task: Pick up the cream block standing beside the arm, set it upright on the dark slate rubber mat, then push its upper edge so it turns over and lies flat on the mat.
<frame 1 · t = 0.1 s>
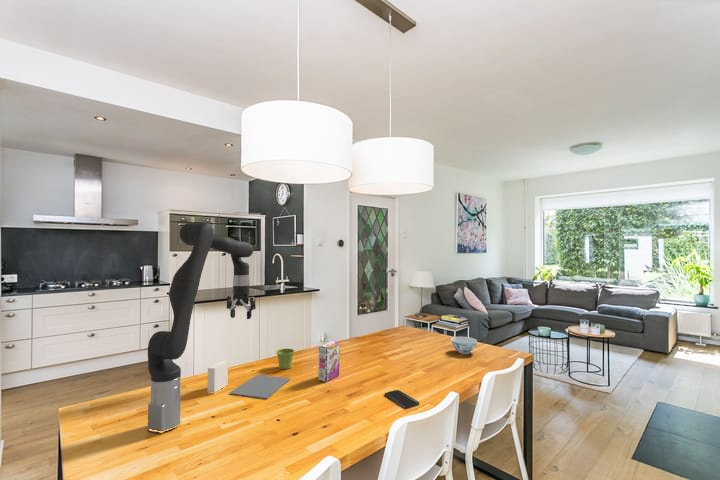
hand: (240, 318, 166), 29 cm above the table, fingers open, 8 cm apart
plant pot: (285, 368, 182), on the table
candy bar box: (329, 378, 168), on the table
cream block: (217, 389, 154), on the table
chinaware: (463, 352, 209), on the table
slate mat: (261, 386, 157), on the table
phone: (401, 401, 145), on the table
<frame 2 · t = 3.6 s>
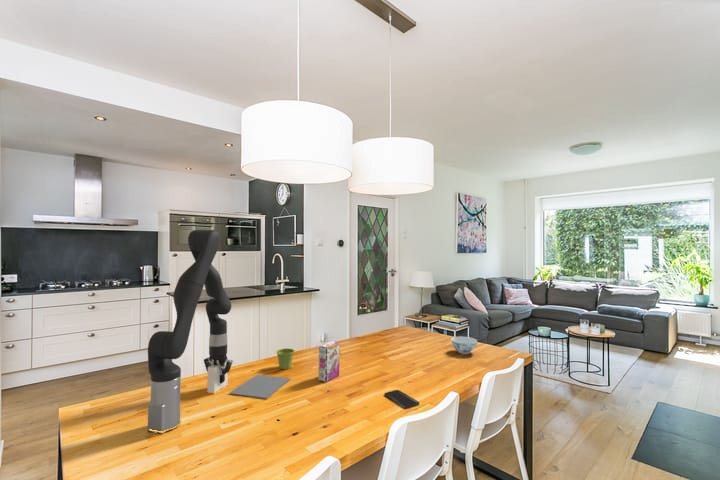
hand: (217, 382, 154), 3 cm above the table, fingers closed on cream block, 3 cm apart
cream block: (217, 389, 154), on the table, touching gripper
everything else where it was.
when the fingers open (5 cm above the table, at t = 10.8 s): cream block drops 1 cm, resting on slate mat.
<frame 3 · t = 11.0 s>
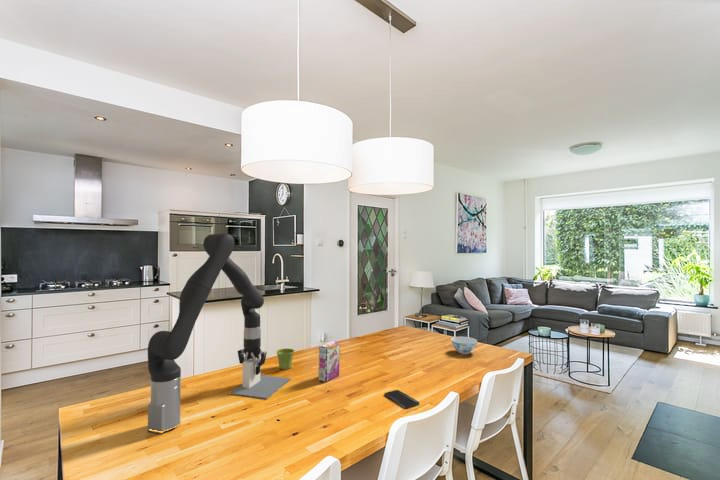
hand: (251, 373, 159), 5 cm above the table, fingers open, 5 cm apart
cream block: (251, 383, 159), point 1 cm above the table, touching slate mat
everything else where it was.
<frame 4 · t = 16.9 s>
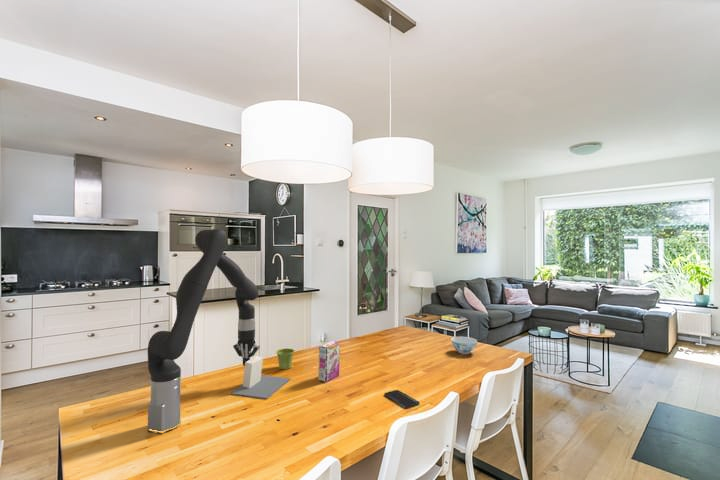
hand: (246, 365, 160), 9 cm above the table, fingers closed
cream block: (251, 383, 159), point 1 cm above the table, tilted 7°, touching gripper, slate mat
everything else where it was.
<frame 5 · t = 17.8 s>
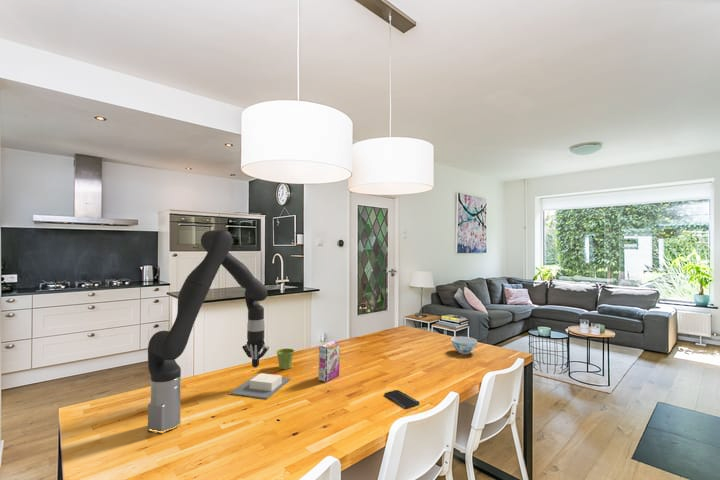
hand: (255, 366, 158), 9 cm above the table, fingers closed
cream block: (255, 380, 158), point 2 cm above the table, tilted 90°, touching slate mat
everything else where it was.
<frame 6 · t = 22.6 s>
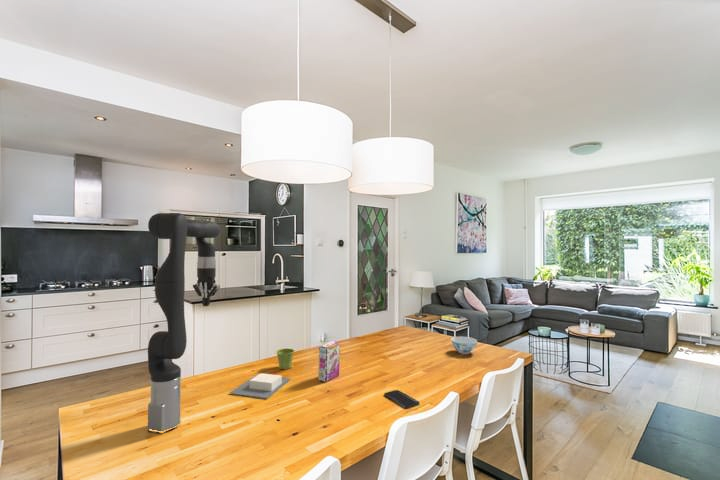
hand: (206, 305, 154), 37 cm above the table, fingers closed
nothing on the table moved.
at the end: cream block tilted 90°; cream block inside the target area (0.3 cm from its centre), point 2.3 cm above the table; cream block touching slate mat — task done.
